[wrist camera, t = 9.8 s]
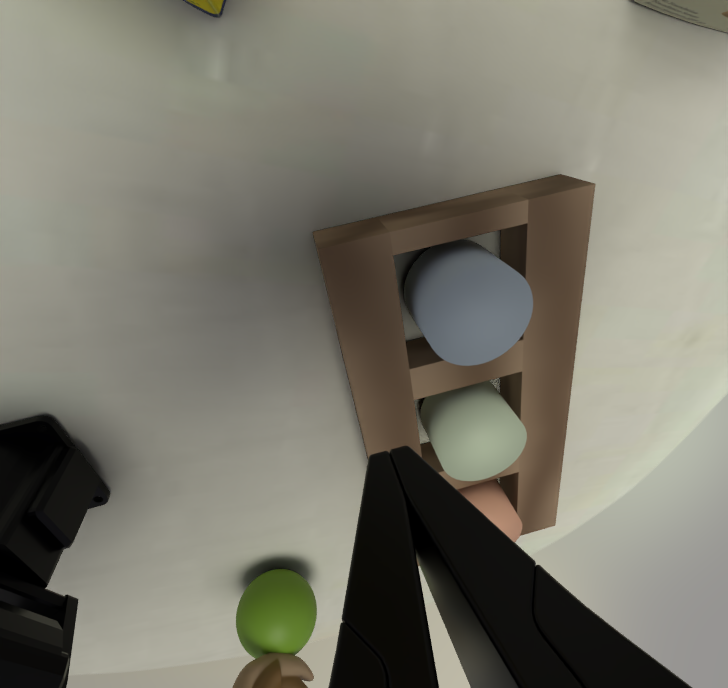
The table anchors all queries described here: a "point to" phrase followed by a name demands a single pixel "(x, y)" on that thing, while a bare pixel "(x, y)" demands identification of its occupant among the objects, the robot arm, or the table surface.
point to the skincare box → (694, 11)
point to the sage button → (473, 431)
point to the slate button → (467, 302)
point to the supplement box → (208, 6)
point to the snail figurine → (275, 630)
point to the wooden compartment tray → (435, 375)
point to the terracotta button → (494, 506)
